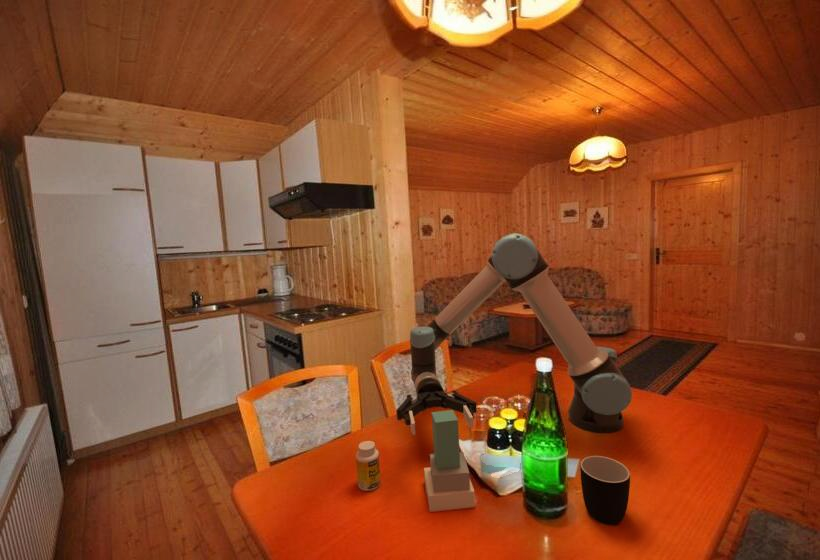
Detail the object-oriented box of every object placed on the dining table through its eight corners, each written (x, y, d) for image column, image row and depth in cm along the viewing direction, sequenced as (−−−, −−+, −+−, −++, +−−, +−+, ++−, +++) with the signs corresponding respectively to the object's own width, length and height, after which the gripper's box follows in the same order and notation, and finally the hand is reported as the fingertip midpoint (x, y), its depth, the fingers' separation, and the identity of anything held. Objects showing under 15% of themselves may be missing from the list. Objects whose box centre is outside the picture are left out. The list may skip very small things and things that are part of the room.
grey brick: (464, 467, 89) (463, 451, 88) (470, 489, 81) (469, 472, 80) (430, 469, 89) (429, 454, 88) (433, 492, 81) (432, 475, 80)
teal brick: (455, 454, 87) (452, 409, 86) (460, 467, 82) (457, 419, 81) (434, 457, 87) (431, 412, 86) (438, 469, 82) (435, 422, 81)
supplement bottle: (370, 495, 86) (367, 454, 85) (353, 487, 89) (350, 447, 88) (385, 482, 91) (382, 442, 90) (368, 474, 94) (365, 436, 93)
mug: (639, 529, 72) (640, 480, 71) (594, 532, 72) (594, 484, 71) (605, 488, 84) (605, 446, 83) (566, 491, 84) (566, 449, 83)
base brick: (465, 479, 91) (464, 463, 90) (475, 508, 81) (474, 491, 80) (424, 483, 90) (423, 468, 89) (429, 513, 80) (428, 496, 80)
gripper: (471, 398, 108) (496, 435, 87) (386, 406, 105) (389, 447, 84) (470, 373, 107) (494, 405, 86) (384, 381, 105) (387, 416, 84)
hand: (442, 426), depth 85 cm, fingers open, 13 cm apart
